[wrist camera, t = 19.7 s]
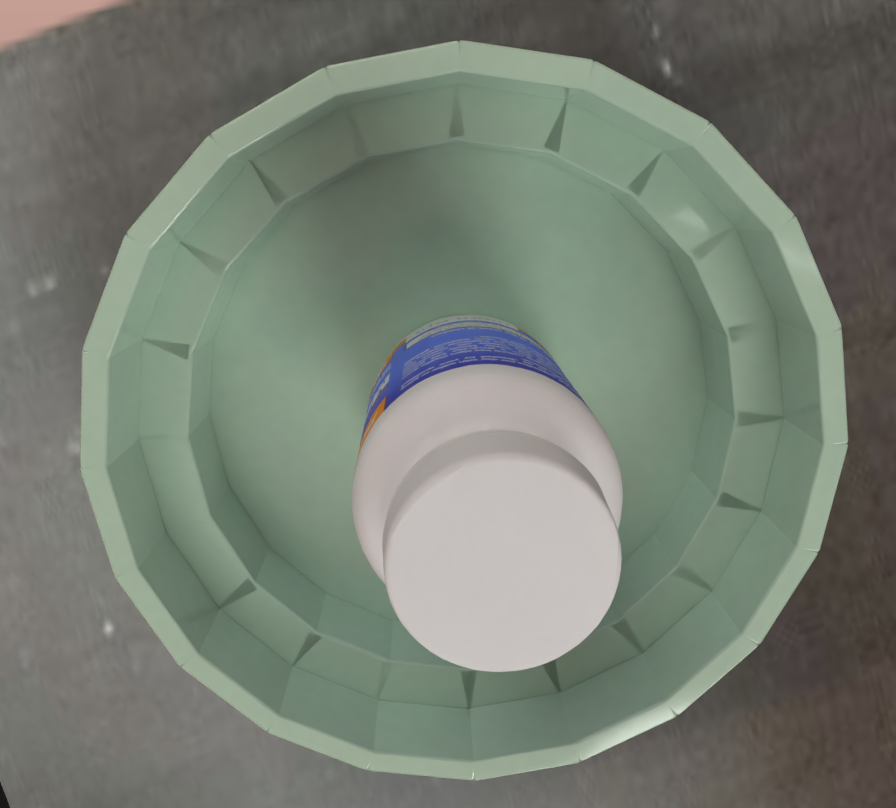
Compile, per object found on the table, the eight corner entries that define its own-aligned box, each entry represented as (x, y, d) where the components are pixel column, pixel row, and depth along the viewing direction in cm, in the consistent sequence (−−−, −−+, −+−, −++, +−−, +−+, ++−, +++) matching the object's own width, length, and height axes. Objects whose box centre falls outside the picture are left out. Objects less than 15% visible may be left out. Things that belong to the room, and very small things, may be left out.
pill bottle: (350, 333, 22) (295, 446, 13) (547, 292, 22) (637, 375, 13) (394, 516, 24) (374, 738, 14) (579, 479, 23) (683, 678, 14)
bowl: (730, 16, 21) (822, -32, 16) (782, 612, 25) (865, 713, 21) (73, 144, 21) (-29, 134, 16) (238, 709, 26) (195, 830, 21)
